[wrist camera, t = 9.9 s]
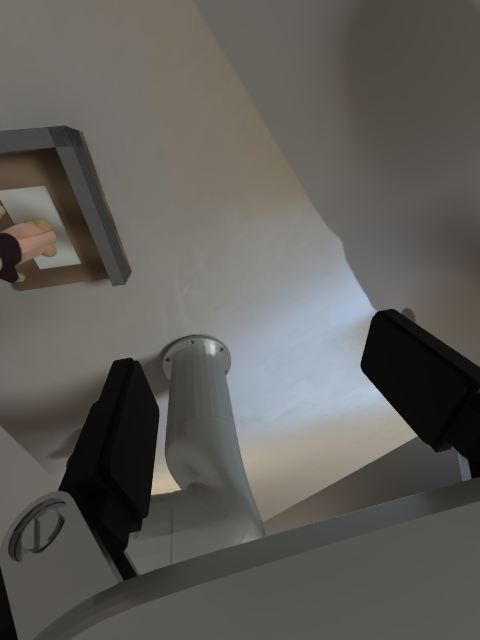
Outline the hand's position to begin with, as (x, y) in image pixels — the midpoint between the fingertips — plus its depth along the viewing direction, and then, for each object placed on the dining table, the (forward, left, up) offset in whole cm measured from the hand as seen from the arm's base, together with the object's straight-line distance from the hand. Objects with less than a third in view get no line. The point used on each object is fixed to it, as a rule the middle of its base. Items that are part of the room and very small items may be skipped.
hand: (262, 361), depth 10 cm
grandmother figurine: (+2, +20, -27) cm, 34 cm away
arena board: (+3, +19, -28) cm, 34 cm away
